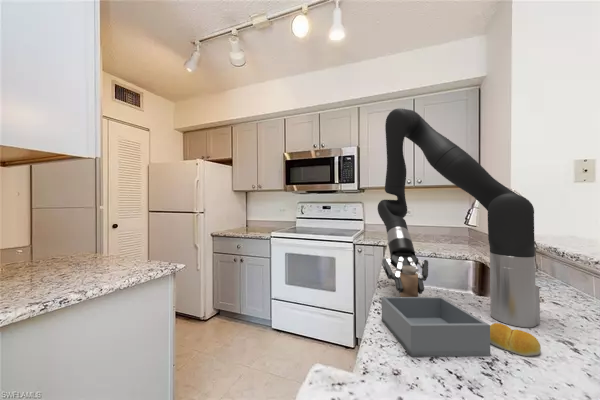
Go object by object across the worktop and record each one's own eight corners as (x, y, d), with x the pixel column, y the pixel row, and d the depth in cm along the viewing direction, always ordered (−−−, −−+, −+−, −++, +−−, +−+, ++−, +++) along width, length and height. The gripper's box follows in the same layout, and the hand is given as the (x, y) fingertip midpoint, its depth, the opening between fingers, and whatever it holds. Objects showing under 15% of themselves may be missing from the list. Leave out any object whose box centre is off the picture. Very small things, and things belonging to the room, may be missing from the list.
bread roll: (538, 363, 48) (538, 342, 48) (481, 344, 55) (481, 325, 55) (543, 348, 54) (543, 329, 54) (491, 332, 60) (491, 315, 60)
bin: (442, 320, 66) (441, 297, 66) (490, 355, 50) (490, 325, 50) (381, 320, 65) (381, 297, 66) (411, 356, 49) (410, 325, 50)
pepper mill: (413, 304, 76) (412, 264, 77) (421, 311, 72) (421, 268, 72) (397, 305, 76) (397, 264, 76) (404, 311, 71) (404, 268, 72)
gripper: (379, 236, 83) (386, 284, 71) (425, 237, 81) (441, 286, 69) (376, 249, 88) (383, 296, 76) (420, 251, 86) (434, 299, 74)
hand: (411, 291), depth 72 cm, fingers closed on pepper mill, 4 cm apart
